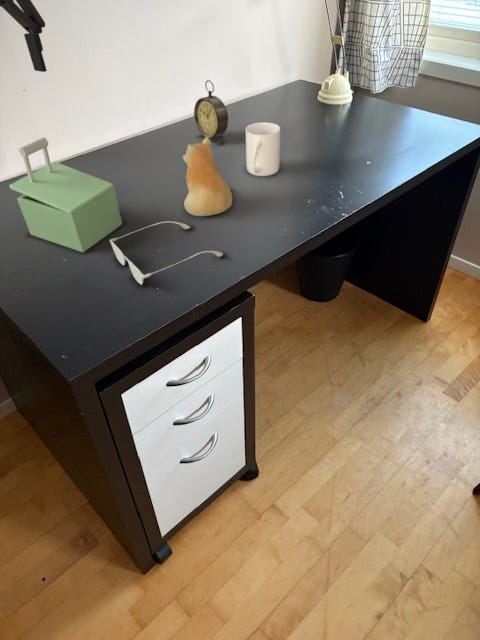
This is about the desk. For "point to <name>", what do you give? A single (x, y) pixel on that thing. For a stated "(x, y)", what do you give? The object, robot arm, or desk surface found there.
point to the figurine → (204, 182)
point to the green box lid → (58, 182)
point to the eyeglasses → (134, 269)
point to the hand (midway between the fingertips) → (14, 80)
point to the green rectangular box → (72, 221)
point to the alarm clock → (211, 116)
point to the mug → (263, 148)
